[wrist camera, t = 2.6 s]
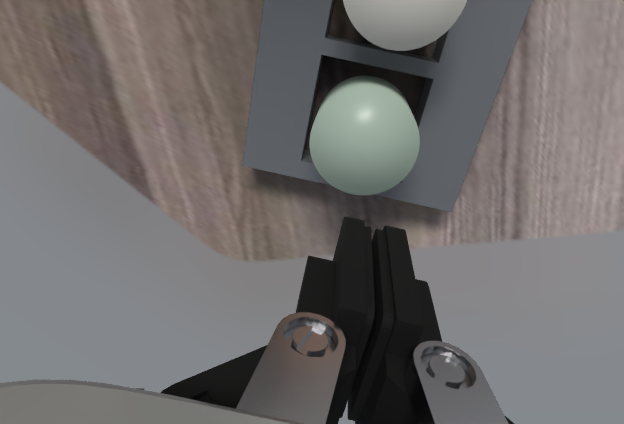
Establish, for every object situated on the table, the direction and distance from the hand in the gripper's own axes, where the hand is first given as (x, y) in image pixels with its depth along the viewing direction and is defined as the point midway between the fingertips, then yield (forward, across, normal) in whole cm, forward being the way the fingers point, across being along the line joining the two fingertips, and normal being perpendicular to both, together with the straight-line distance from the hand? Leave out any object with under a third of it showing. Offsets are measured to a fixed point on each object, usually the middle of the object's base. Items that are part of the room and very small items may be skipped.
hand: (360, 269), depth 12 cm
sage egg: (+16, 0, 0) cm, 16 cm away
